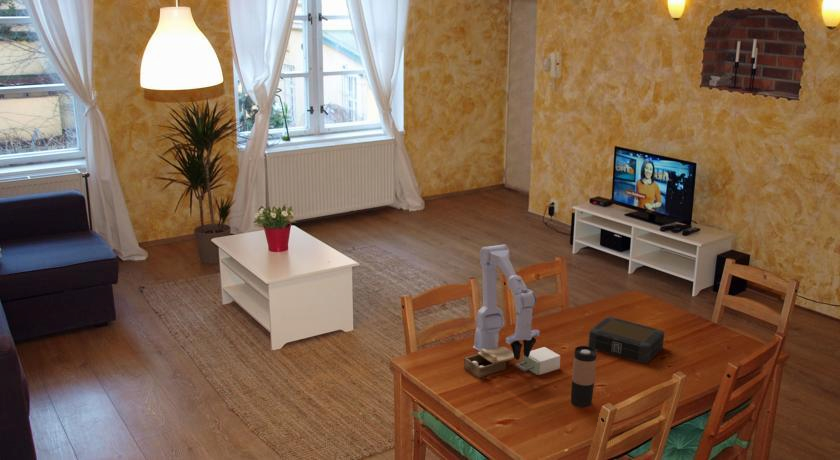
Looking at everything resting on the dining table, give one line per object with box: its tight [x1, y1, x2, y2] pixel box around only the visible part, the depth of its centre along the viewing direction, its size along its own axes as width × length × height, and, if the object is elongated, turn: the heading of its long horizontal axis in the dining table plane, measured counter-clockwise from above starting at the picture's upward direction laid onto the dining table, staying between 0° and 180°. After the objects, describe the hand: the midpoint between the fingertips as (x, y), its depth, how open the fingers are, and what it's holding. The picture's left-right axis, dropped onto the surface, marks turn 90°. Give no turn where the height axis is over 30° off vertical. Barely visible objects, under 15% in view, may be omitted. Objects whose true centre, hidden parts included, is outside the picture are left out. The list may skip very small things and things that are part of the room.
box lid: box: [477, 345, 515, 364], centre depth 309 cm, size 10×12×2 cm
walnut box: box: [463, 353, 507, 379], centre depth 307 cm, size 10×12×5 cm
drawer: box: [515, 353, 540, 376], centre depth 307 cm, size 9×15×6 cm, turn 123°
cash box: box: [587, 316, 665, 364], centre depth 329 cm, size 25×20×8 cm
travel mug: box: [570, 345, 598, 409], centre depth 283 cm, size 8×8×20 cm
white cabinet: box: [529, 346, 561, 375], centre depth 308 cm, size 9×10×6 cm
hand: (521, 357), depth 302 cm, fingers open, 4 cm apart
